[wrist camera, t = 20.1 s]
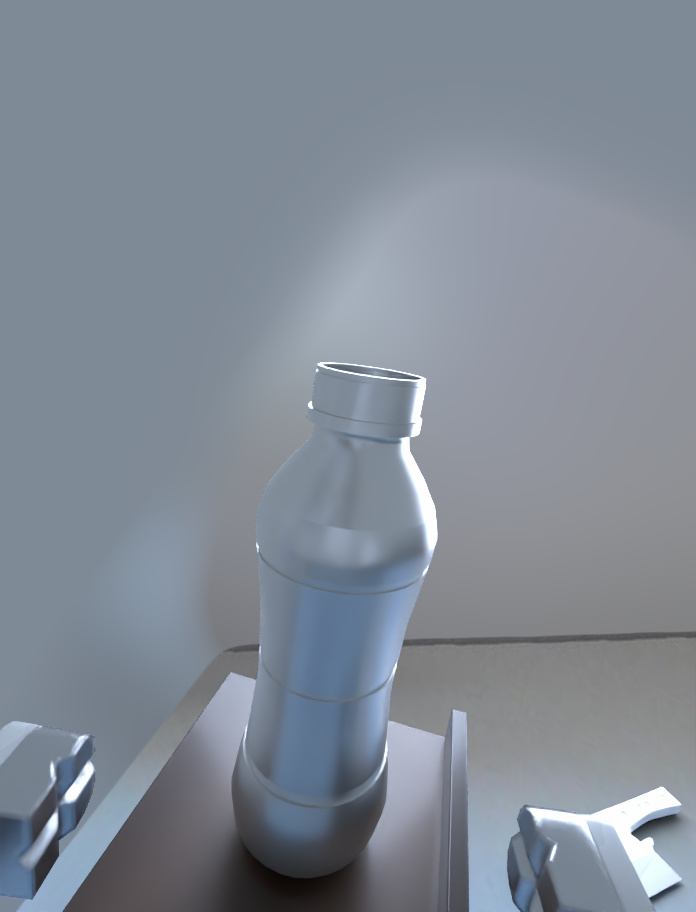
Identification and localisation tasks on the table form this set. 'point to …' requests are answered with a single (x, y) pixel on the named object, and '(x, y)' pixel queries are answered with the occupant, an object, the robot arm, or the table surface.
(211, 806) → the block with raised lip
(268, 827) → the plastic bottle
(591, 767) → the table surface
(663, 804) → the white plastic strip tool
